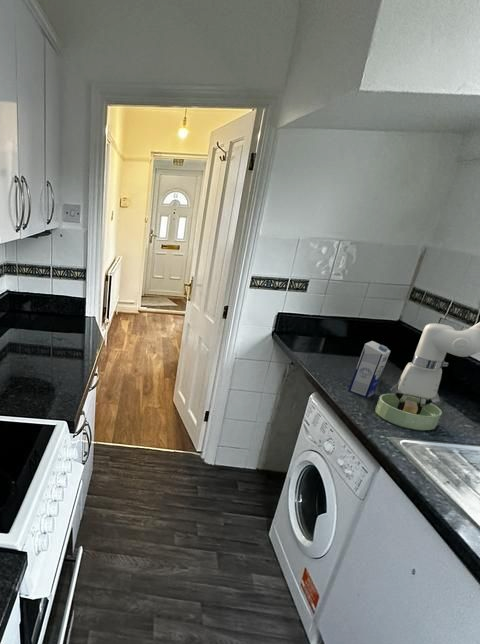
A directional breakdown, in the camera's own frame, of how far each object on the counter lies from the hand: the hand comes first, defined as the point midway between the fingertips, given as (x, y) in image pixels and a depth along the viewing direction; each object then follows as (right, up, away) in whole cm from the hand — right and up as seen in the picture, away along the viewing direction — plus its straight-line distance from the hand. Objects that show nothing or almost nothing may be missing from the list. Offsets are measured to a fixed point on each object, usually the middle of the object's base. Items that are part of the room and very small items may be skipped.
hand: (407, 413), depth 139 cm
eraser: (0, 0, 0) cm, 0 cm away
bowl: (0, -2, +1) cm, 2 cm away
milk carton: (-4, +6, +19) cm, 20 cm away
